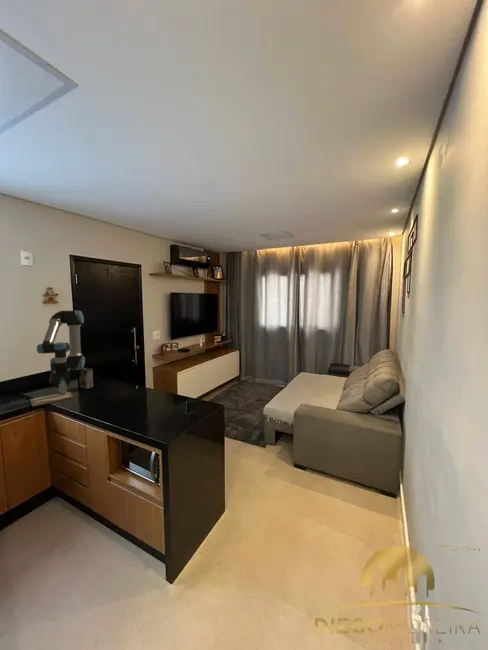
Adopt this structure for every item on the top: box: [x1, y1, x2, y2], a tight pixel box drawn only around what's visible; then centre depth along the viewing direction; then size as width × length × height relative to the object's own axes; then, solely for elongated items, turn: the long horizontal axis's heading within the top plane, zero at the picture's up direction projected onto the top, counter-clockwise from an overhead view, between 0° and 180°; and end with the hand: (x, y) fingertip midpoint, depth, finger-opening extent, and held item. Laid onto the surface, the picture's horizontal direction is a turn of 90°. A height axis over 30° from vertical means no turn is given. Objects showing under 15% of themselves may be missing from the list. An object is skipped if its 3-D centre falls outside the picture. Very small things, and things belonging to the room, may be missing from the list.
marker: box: [59, 377, 67, 395], centre depth 225 cm, size 4×4×13 cm
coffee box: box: [78, 367, 94, 390], centre depth 245 cm, size 9×6×16 cm
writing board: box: [29, 391, 75, 408], centre depth 218 cm, size 16×26×1 cm, turn 132°
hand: (62, 391), depth 225 cm, fingers closed on marker, 4 cm apart
